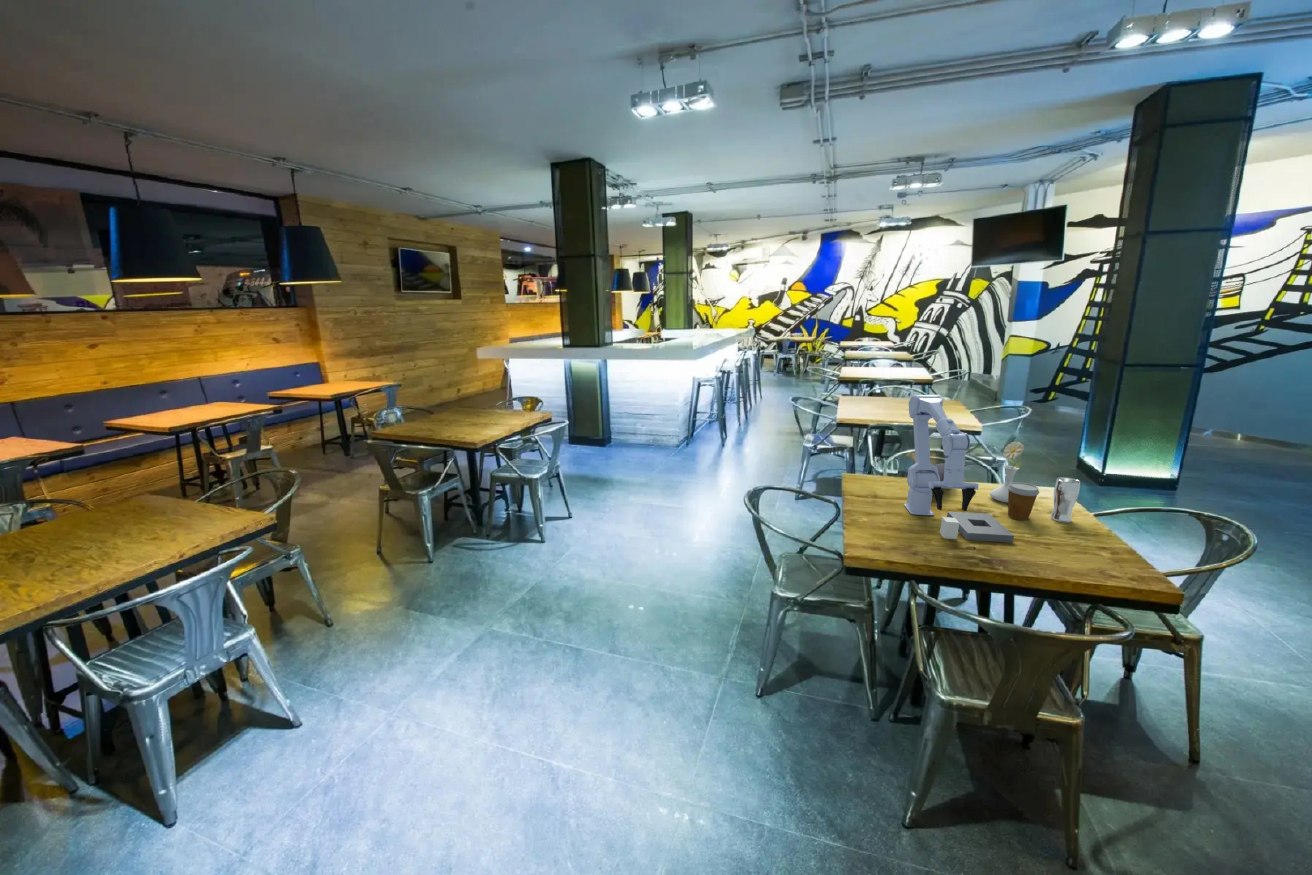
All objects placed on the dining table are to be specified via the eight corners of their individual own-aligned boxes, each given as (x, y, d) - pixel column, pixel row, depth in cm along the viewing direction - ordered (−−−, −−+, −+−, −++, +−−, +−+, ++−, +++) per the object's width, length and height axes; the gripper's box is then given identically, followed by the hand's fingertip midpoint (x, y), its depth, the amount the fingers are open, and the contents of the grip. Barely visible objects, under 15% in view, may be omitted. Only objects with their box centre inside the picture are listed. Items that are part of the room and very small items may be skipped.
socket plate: (946, 517, 189) (947, 511, 188) (988, 520, 187) (989, 513, 186) (966, 539, 172) (967, 532, 171) (1012, 542, 170) (1014, 535, 169)
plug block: (939, 533, 177) (942, 516, 175) (952, 534, 176) (954, 517, 175) (943, 538, 173) (946, 521, 172) (956, 539, 172) (959, 522, 171)
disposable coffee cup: (1040, 522, 185) (1046, 490, 182) (1013, 522, 185) (1019, 490, 182) (1022, 511, 194) (1027, 481, 191) (996, 511, 194) (1002, 481, 191)
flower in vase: (985, 493, 212) (995, 434, 206) (1017, 496, 209) (1028, 437, 202) (994, 505, 200) (1005, 443, 194) (1028, 508, 197) (1041, 445, 190)
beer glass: (1069, 517, 189) (1078, 478, 185) (1075, 524, 183) (1084, 484, 179) (1046, 514, 192) (1054, 475, 188) (1051, 521, 186) (1059, 481, 182)
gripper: (934, 471, 168) (932, 511, 169) (983, 472, 165) (980, 513, 167) (927, 467, 175) (925, 506, 176) (974, 468, 172) (971, 508, 174)
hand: (951, 509), depth 172 cm, fingers open, 7 cm apart
